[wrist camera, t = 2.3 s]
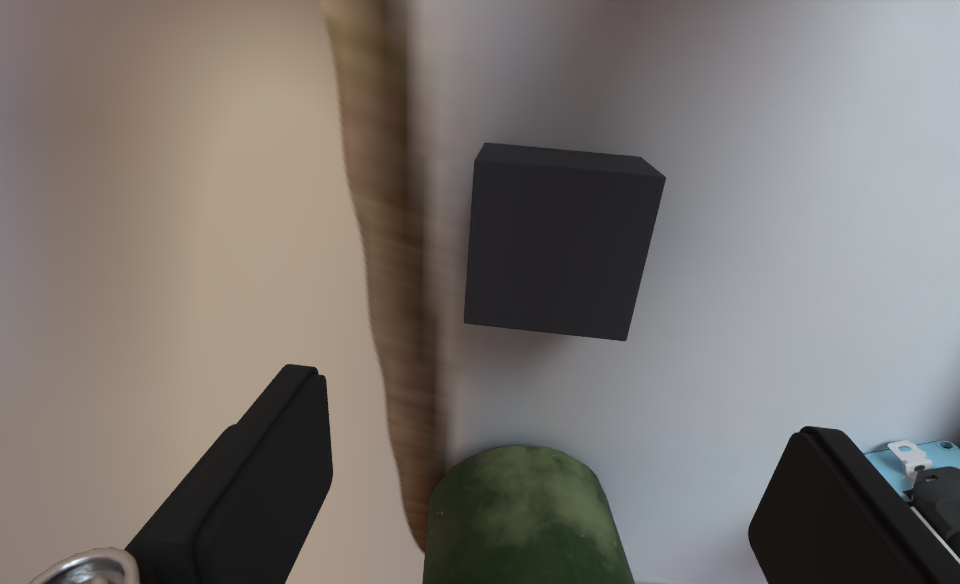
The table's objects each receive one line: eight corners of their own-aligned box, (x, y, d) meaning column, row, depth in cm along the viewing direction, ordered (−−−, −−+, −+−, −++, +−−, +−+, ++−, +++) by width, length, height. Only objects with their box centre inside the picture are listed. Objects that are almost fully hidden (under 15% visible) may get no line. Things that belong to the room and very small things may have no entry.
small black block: (484, 142, 20) (474, 158, 16) (641, 156, 19) (666, 176, 16) (473, 283, 23) (463, 323, 19) (610, 297, 22) (626, 342, 19)
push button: (816, 508, 27) (962, 733, 18) (808, 437, 25) (970, 649, 16) (953, 487, 25) (1190, 721, 16) (957, 410, 23) (1230, 628, 14)
